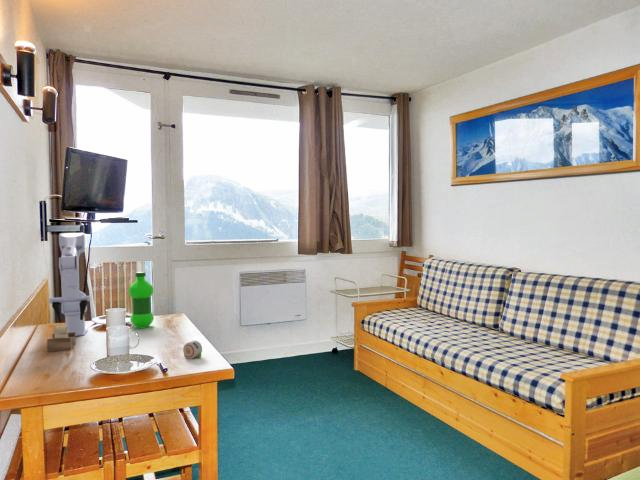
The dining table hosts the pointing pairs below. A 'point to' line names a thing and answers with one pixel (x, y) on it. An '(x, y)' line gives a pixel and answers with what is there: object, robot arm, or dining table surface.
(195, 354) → the roller toy
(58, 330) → the birch block
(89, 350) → the dining table surface
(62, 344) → the walnut cradle
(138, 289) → the plastic bottle
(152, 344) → the dining table surface
